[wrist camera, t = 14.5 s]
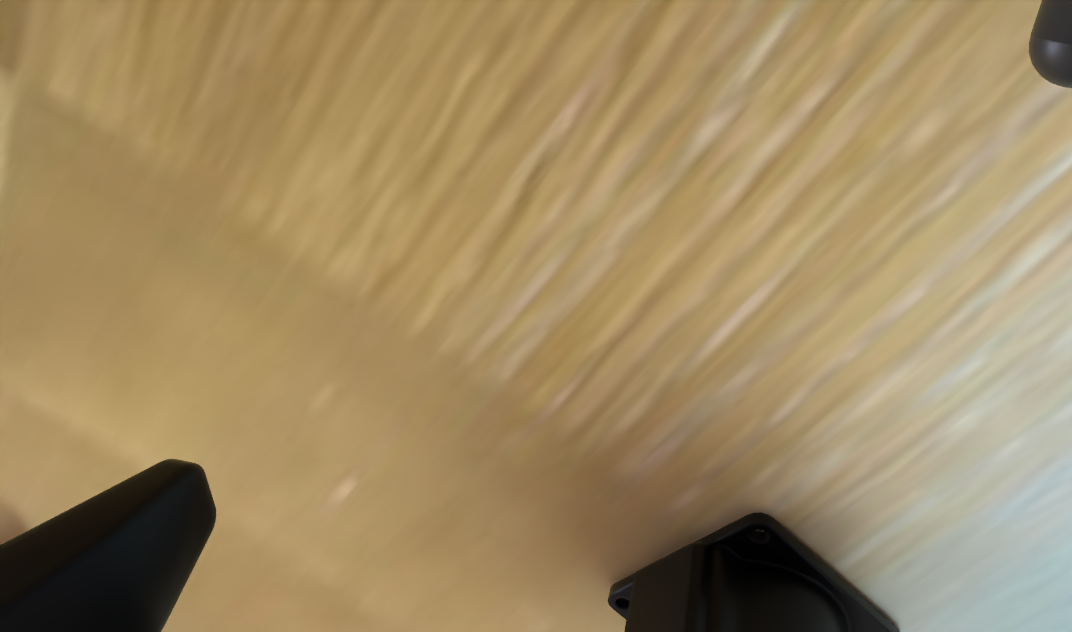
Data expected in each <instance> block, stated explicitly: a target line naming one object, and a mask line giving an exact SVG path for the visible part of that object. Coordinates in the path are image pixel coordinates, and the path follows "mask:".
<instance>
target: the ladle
mask: <svg viewBox="0 0 1072 632" xmlns="http://www.w3.org/2000/svg"><path fill="white" fill-rule="evenodd" d="M1029 54H1030V58H1031V62H1032V64H1033V66H1034V68H1035V69H1036V70H1037V72H1038V73H1039V74H1040V75H1041V76H1042V77H1043V78H1045V79H1046V80H1048V81H1049V82H1051V83H1053V84H1056V85H1059V86H1062V87H1068V88H1072V0H1042V2H1041V5H1040V8H1039V11H1038V14H1037V17H1036V20H1035V23H1034V26H1033V29H1032V33H1031V38H1030V42H1029Z"/></svg>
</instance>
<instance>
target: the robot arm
mask: <svg viewBox="0 0 1072 632" xmlns="http://www.w3.org/2000/svg"><path fill="white" fill-rule="evenodd" d="M215 520H216V508H215V504H214V501H213V498H212V494H211V491H210V488H209V484H208V481H207V478H206V474H205V472H204V470H203V468H202V467H201V466H200V465H198V464H196V463H191V462H187V461H182V460H177V459H167V460H164V461H162V462H159V463H157V464H156V465H154V466H152V467H150V468H148V469H146V470H144V471H142V472H140V473H138V474H136V475H134V476H133V477H131V478H129V479H127V480H125V481H123V482H121V483H119V484H117V485H115V486H113V487H111V488H110V489H108V490H106V491H104V492H102V493H100V494H98V495H96V496H94V497H92V498H90V499H88V500H86V501H85V502H83V503H81V504H79V505H77V506H75V507H73V508H71V509H69V510H67V511H65V512H63V513H62V514H60V515H58V516H56V517H54V518H52V519H50V520H48V521H46V522H44V523H42V524H40V525H39V526H37V527H35V528H33V529H31V530H29V531H27V532H25V533H23V534H21V535H19V536H17V537H15V538H14V539H12V540H10V541H8V542H6V543H4V544H2V545H0V632H161V631H162V629H163V627H164V625H165V624H166V622H167V620H168V618H169V616H170V614H171V612H172V610H173V608H174V606H175V604H176V602H177V600H178V598H179V596H180V594H181V592H182V590H183V588H184V586H185V584H186V582H187V580H188V578H189V576H190V574H191V572H192V570H193V568H194V566H195V564H196V562H197V560H198V558H199V556H200V554H201V552H202V550H203V548H204V546H205V544H206V542H207V540H208V538H209V536H210V534H211V532H212V530H213V528H214V524H215ZM757 529H759V530H764V531H762V532H759V531H755V530H757ZM608 603H609V605H610V606H611V607H612V608H613V609H614V610H615V611H616V612H617V613H619V614H620V615H621V616H622V617H624V618H625V619H626V620H627V621H626V626H625V632H900V631H899V629H898V628H896V627H895V626H894V625H893V624H892V623H891V622H890V621H889V620H887V619H886V618H885V617H884V616H883V615H882V614H881V613H880V612H878V611H877V610H876V609H875V608H874V607H873V606H872V605H871V604H869V603H868V602H867V601H866V600H865V599H864V598H863V597H862V596H860V595H859V594H858V593H857V592H856V591H855V590H854V589H853V588H851V587H850V586H849V585H848V584H847V583H846V582H845V581H844V580H842V579H841V578H840V577H839V576H838V575H837V574H836V573H835V572H834V571H832V570H831V569H830V568H829V567H828V566H827V565H826V564H825V563H823V562H822V561H821V560H820V559H819V558H818V557H817V556H816V555H814V554H813V553H812V552H811V551H810V550H809V549H808V548H807V547H805V546H804V545H803V544H802V543H801V542H800V541H799V540H798V539H796V538H795V537H794V536H793V535H792V534H791V533H790V532H789V531H787V530H786V529H785V528H784V527H783V526H782V525H781V524H780V523H778V522H777V521H776V520H775V519H774V518H773V517H771V516H769V515H767V514H764V513H752V514H749V515H746V516H744V517H743V518H741V519H739V520H737V521H735V522H733V523H731V524H729V525H727V526H725V527H723V528H721V529H719V530H717V531H716V532H714V533H712V534H710V535H708V536H706V537H704V538H702V539H700V540H698V541H696V542H694V543H692V544H689V545H688V546H686V547H684V548H682V549H680V550H678V551H676V552H674V553H672V554H670V555H668V556H666V557H664V558H663V559H661V560H659V561H657V562H655V563H653V564H651V565H649V566H647V567H645V568H643V569H641V570H639V571H638V572H636V573H635V574H633V575H631V576H629V577H627V578H625V579H623V580H621V581H619V582H617V583H615V584H614V585H613V586H612V587H611V589H610V593H609V598H608Z"/></svg>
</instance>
